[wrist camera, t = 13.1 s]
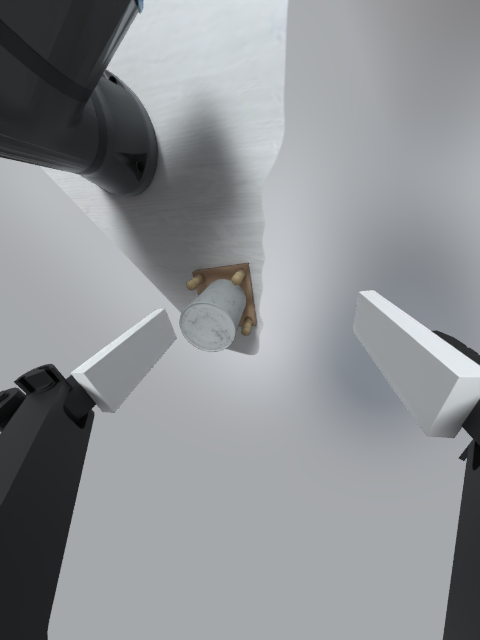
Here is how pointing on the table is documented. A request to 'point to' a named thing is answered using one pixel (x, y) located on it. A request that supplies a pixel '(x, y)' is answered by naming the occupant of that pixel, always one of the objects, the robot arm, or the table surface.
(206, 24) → the table surface
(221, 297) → the grey marbled cylinder
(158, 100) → the table surface
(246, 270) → the peg stand
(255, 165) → the table surface
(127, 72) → the table surface
